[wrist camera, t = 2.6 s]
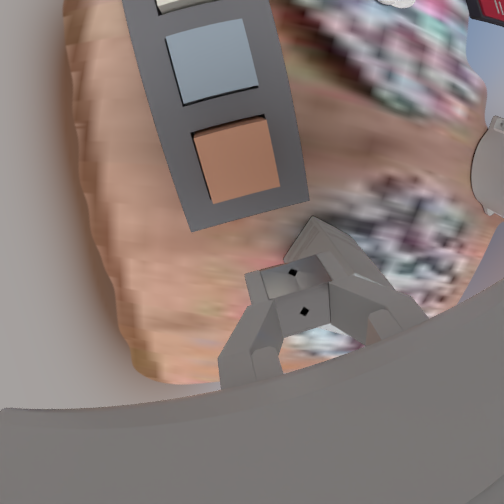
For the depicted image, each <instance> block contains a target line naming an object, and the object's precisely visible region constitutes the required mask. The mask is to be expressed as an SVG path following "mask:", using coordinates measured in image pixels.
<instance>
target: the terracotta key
mask: <svg viewBox="0 0 504 504" xmlns="http://www.w3.org/2000/svg"><path fill="white" fill-rule="evenodd" d="M194 141H195V145H196V148H197V152H198V155H199V159H200V162H201V165H202V169H203V172H204V175H205V179H206V182H207V185H208V189H209V192H210V195H211V199H212V202H213V204H216V203H219V202H223V201H226V200H230V199H234V198H237V197H241V196H245V195H249V194H252V193H256V192H260V191H264V190H268V189H272V188H276V187H280V182H279V177H278V172H277V167H276V162H275V157H274V152H273V148H272V143H271V138H270V133H269V129H268V124H267V120H266V119H264V118H262V117H260V116H258V115H257V116H252V117H248V118H244V119H240V120H235V121H231V122H227V123H224V124H220V125H216V126H212V127H209V128H205V129H202V130H198V131H195V134H194Z"/></svg>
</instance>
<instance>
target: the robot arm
mask: <svg viewBox="0 0 504 504" xmlns="http://www.w3.org/2000/svg"><path fill="white" fill-rule="evenodd" d="M471 181H472V189H473V192H474V195H475V197H476V199H477V200H478V201H479V202H480V203H481V204H482V205H483V208H484V211H485V213H486V214H487V215H489V216H491V215H493V214H494V213H496V214H497V215H499V216H501V217H503V218H504V119H503V118H501V117H498V116H494V117H493V118H492V121H491V124H490V126H489V129H488V131H487V132H486V134H485V135H484V136H483V137H482V139H481V141H480V143H479V145H478V147H477V149H476V152H475V155H474V159H473V165H472V174H471ZM245 280H246V284H247V288H248V292H249V296H250V300H251V304H252V305H250V306H247V308H246V310H245V312H244V313H243V315H242V317H241V319H240V320H239V322H238V324H237V326H236V327H235V329H234V331H233V333H232V334H231V336H230V338H229V340H228V341H227V343H226V345H225V346H224V348H223V350H222V352H221V353H220V355H219V357H218V367H219V376H220V385H221V390H218V391H214V392H209V393H204V394H198V395H193V396H187V397H182V398H176V399H169V400H163V401H156V402H148V403H140V404H131V405H122V406H112V407H98V408H80V409H21V408H4V409H2V410H1V411H0V504H504V278H503V279H501V280H500V281H498V282H496V283H495V284H493V285H492V286H490V287H488V288H486V289H485V290H483V291H481V292H480V293H478V294H476V295H475V296H473V297H471V298H469V299H467V300H465V301H464V302H462V303H460V304H458V305H456V306H454V307H452V308H450V309H448V310H446V311H444V312H442V313H440V314H438V315H436V316H434V317H432V318H430V319H429V318H428V317H427V315H426V314H425V313H424V312H423V310H422V309H421V308H420V307H419V305H418V304H417V303H416V302H415V300H414V299H413V298H412V297H411V296H409V295H406V294H403V293H401V292H398V291H395V290H393V289H390V288H387V287H384V286H382V285H379V284H376V283H374V282H371V281H368V280H365V279H363V278H360V277H357V276H354V275H350V276H348V275H347V273H346V272H345V270H344V269H343V268H342V266H341V265H340V264H339V262H338V261H337V260H336V258H335V257H334V255H333V254H332V253H331V251H329V250H326V251H323V252H320V253H317V254H315V255H312V256H309V257H305V258H302V259H299V260H295V261H292V262H287V263H284V264H280V265H276V266H272V267H268V268H265V269H261V270H257V271H253V272H250V273H246V274H245ZM330 323H331V325H333V326H335V327H336V328H338V329H339V330H341V331H343V332H344V333H346V334H347V335H349V336H351V337H352V338H354V339H355V340H357V341H359V342H360V343H362V344H363V345H365V347H363V348H361V349H358V350H355V351H353V352H350V353H347V354H344V355H342V356H339V357H336V358H333V359H330V360H327V361H324V362H321V363H318V364H315V365H312V366H309V367H306V368H303V369H299V370H296V371H293V372H289V373H286V374H283V371H282V368H281V364H280V361H279V358H278V355H279V352H280V349H281V346H282V343H283V340H284V339H283V338H285V337H288V336H291V335H294V334H297V333H300V332H303V331H306V330H310V329H313V328H317V327H320V326H323V325H327V324H330Z"/></svg>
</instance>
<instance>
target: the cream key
mask: <svg viewBox="0 0 504 504" xmlns="http://www.w3.org/2000/svg"><path fill="white" fill-rule="evenodd" d="M156 1H157V5H158V8H159V9H160V11H161V13H162V15H164V14H167V13H170V12H174V11H177V10H181V9H185V8H188V7H192V6H196V5H201V4H205V3H210V2H214V1H219V0H156Z"/></svg>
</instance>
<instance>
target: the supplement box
mask: <svg viewBox="0 0 504 504" xmlns="http://www.w3.org/2000/svg"><path fill="white" fill-rule="evenodd" d="M326 250H329V251H331V253H332V254H333V255H334V257H335V258H336V260H337V261H338V262H339V264H340V265H341V266H342V268H343V269H344V270H345V272H346V273H347V275H348V276H350V275H354V276H357V277H360V278H363V279H365V280H368V281H371V282H374V283H376V284H379V285H382V286H384V287H387V288H390V289H393V290H395V289H394V288H393V286H392V285H391V284H390V283H389V281H388V280H387V279H386V278H385V276H384V275H383V274H382V273H381V271H380V270H379V269H378V268H377V267H376V265H375V264H374V263H373V262H372V261H371V260H370V258H369V257H368V256H367V255H366V254H365V252H364V251H363V250H362V249H361V248H360V247H359V246H358V244H357V243H356V242H355V241H354V240H353V238H352V237H351V236H349V235H348V234H346V233H344V232H342V231H340V230H339V229H337V228H335V227H333V226H331V225H329V224H327V223H326V222H324V221H322V220H320V219H318V218H316V217H314V216H312V217H311V218H310V220H309V221H308V223H307V224H306V226H305V227H304V229H303V230H302V232H301V233H300V235H299V236H298V238H297V239H296V240H295V242H294V243H293V245H292V246H291V248H290V249H289V251H288V252H287V254H286V255H285V257H284V259H283V260H284V263H287V262H292V261H295V260H299V259H302V258H305V257H309V256H312V255H315V254H317V253H320V252H323V251H326ZM395 291H396V290H395ZM317 328H321V329H324V330H328V331H332V332H336V333H340V334H343V335H347V334H346V333H344V332H343V331H341V330H339V329H338V328H336V327H335V326H333V325H331V323H330V324H327V325H323V326H320V327H317ZM347 336H349V335H347Z"/></svg>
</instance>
